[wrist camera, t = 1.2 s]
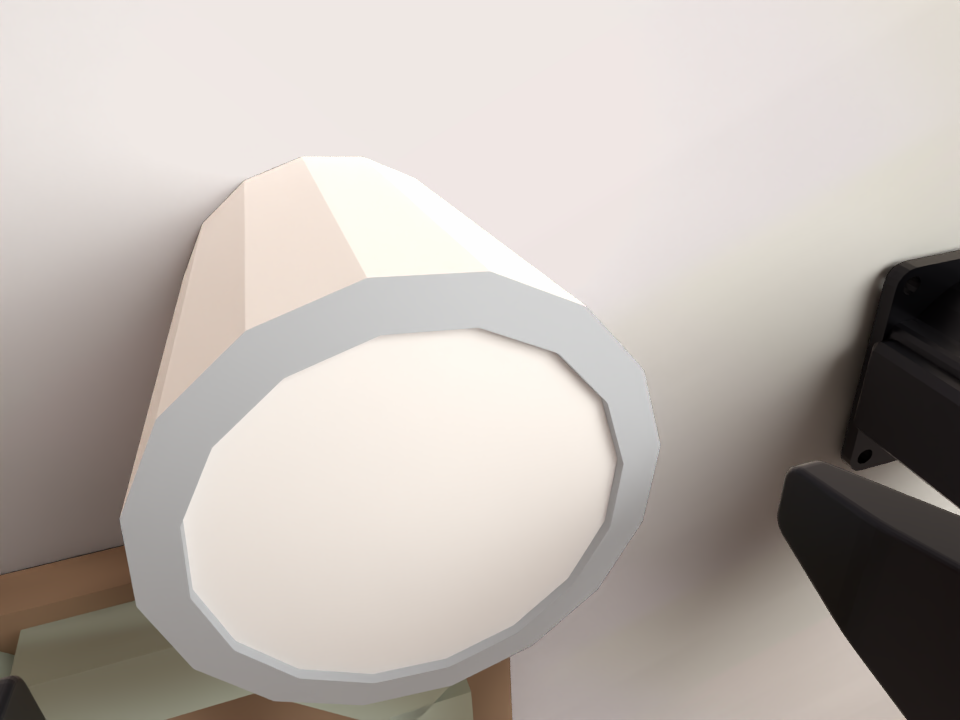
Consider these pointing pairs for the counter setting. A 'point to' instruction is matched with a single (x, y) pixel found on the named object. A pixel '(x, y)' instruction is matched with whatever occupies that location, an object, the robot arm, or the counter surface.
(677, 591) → the counter surface
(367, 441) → the white cylinder
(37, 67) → the counter surface
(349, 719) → the gear board
